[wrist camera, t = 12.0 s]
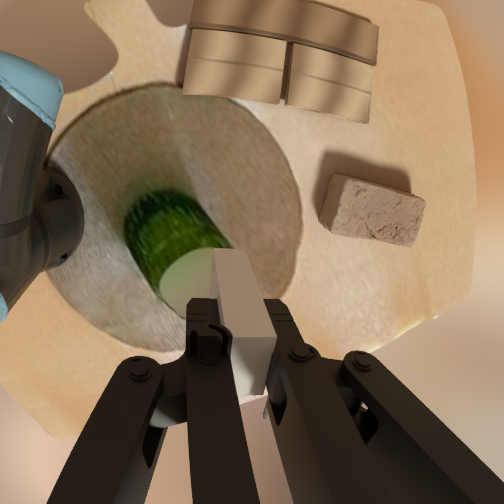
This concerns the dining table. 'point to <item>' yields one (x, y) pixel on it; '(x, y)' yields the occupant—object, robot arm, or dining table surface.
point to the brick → (371, 211)
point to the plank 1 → (234, 66)
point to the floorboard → (291, 25)
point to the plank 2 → (329, 84)
